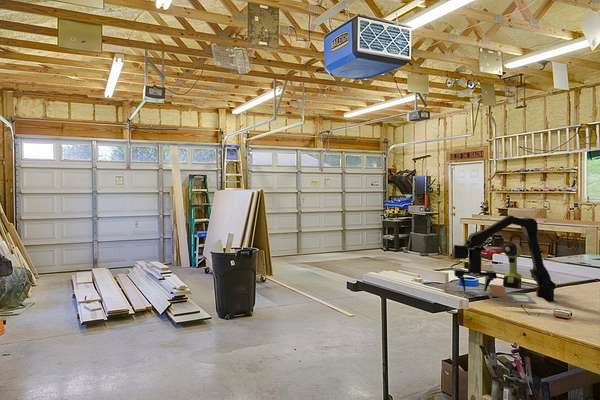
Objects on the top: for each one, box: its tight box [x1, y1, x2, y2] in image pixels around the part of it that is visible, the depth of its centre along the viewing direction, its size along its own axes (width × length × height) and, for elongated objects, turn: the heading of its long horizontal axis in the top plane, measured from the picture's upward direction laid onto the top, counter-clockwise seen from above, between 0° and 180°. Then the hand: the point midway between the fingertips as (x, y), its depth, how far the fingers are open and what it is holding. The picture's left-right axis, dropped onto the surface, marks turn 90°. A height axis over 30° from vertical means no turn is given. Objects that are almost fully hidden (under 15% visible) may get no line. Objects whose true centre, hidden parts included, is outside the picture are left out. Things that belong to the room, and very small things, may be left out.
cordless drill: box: [502, 241, 523, 289], centre depth 226 cm, size 23×7×25 cm, turn 143°
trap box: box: [485, 290, 536, 305], centre depth 205 cm, size 18×16×2 cm
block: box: [489, 283, 506, 298], centre depth 210 cm, size 6×5×4 cm
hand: (474, 291), depth 212 cm, fingers open, 9 cm apart
